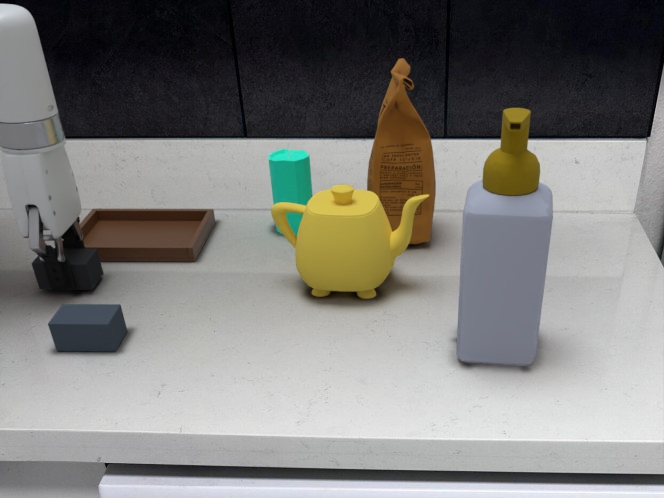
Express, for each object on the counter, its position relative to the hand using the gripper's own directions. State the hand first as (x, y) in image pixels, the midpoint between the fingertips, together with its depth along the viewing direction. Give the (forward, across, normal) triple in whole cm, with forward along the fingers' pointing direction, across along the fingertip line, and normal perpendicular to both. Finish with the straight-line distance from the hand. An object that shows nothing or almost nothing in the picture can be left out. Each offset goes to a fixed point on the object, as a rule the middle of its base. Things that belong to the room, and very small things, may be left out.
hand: (71, 278), depth 104 cm
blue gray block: (+1, +15, +7) cm, 17 cm away
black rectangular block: (0, 0, 0) cm, 0 cm away
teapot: (+1, -1, +37) cm, 37 cm away
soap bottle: (0, +16, +55) cm, 58 cm away
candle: (+1, -20, +27) cm, 34 cm away
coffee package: (+1, -18, +43) cm, 47 cm away
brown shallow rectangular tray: (+1, -15, +5) cm, 16 cm away
